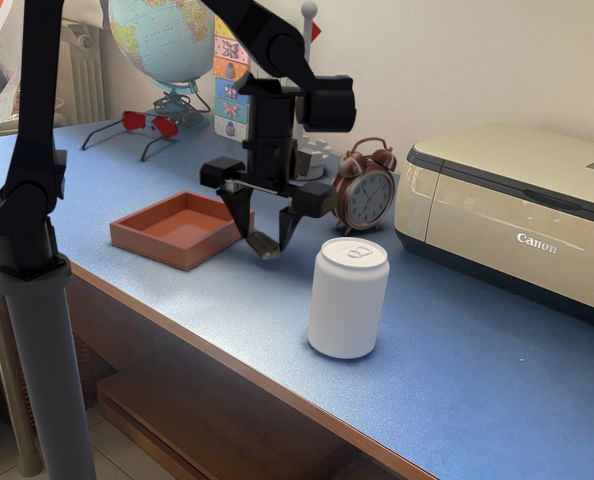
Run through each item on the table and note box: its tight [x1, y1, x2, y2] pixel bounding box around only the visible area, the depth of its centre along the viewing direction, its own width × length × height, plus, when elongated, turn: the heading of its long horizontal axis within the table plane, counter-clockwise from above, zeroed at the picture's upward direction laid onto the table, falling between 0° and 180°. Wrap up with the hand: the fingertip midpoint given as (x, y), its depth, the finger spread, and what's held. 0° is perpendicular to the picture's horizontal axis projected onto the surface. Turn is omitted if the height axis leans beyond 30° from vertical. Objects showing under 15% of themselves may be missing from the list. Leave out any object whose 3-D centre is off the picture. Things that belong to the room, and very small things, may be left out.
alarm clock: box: [330, 136, 398, 236], centre depth 93 cm, size 11×5×15 cm, turn 123°
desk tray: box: [108, 189, 256, 272], centre depth 89 cm, size 18×14×3 cm
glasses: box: [81, 110, 180, 162], centre depth 122 cm, size 14×16×5 cm
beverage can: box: [306, 236, 390, 360], centre depth 66 cm, size 8×8×12 cm
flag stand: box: [294, 0, 332, 181], centre depth 111 cm, size 13×13×30 cm
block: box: [245, 230, 284, 260], centre depth 83 cm, size 4×6×2 cm, turn 38°
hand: (264, 244), depth 83 cm, fingers closed on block, 6 cm apart
